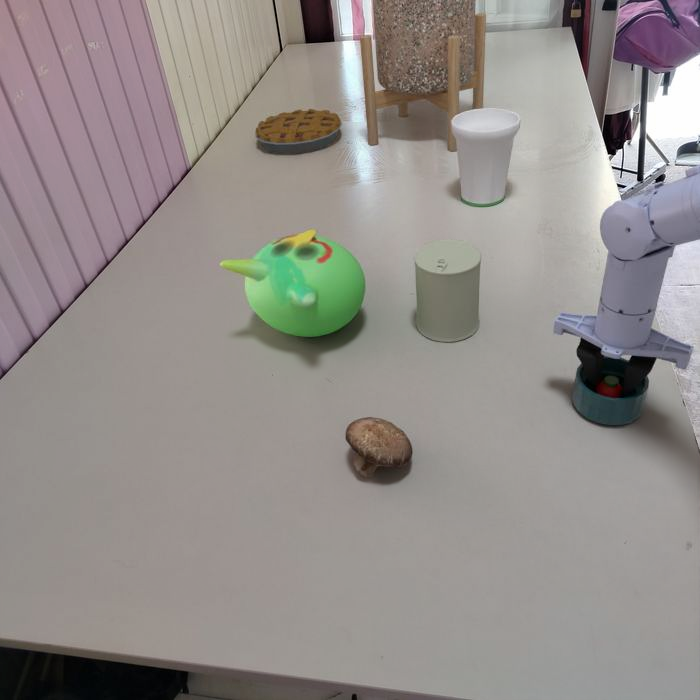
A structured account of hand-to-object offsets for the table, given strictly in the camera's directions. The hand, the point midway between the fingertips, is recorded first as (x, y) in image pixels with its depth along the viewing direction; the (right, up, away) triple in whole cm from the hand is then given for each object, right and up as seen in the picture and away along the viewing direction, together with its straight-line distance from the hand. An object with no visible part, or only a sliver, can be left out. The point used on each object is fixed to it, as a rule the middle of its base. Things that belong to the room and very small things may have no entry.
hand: (608, 393), depth 77 cm
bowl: (0, -1, +1) cm, 2 cm away
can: (-17, +9, +17) cm, 26 cm away
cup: (-5, +35, +48) cm, 60 cm away
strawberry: (0, -1, +1) cm, 1 cm away
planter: (-12, +59, +79) cm, 100 cm away
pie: (-44, +58, +83) cm, 111 cm away
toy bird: (-37, +9, +20) cm, 43 cm away
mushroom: (-28, -8, -2) cm, 29 cm away
